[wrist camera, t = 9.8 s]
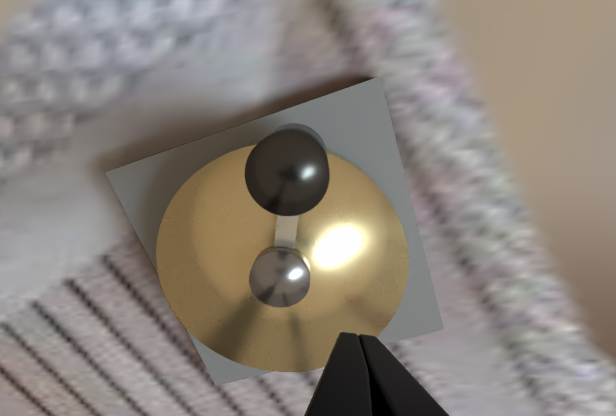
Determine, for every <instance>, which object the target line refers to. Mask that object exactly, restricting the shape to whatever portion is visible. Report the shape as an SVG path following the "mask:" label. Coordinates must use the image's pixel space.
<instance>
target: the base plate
mask: <svg viewBox="0 0 616 416" xmlns="http://www.w3.org/2000/svg"><path fill="white" fill-rule="evenodd" d="M289 123H299V124H303V125H306V126H308V127H310V128H312V129H313V130H315V131H316V132H317V133H318V134H319V135H320V137H321V138H322V140H323V141H324V144H325V146H326V149H328V150H331V151H333V152H335V153H337V154H339V155H341V156H343V157H345V158H347V159H348V160H350V161H351V162H353V163H354V164H356V165H357V166H359V167H360V168H361V169H362V170H363V171H364V172H365V173H367V174H368V175H369V176H370V177H371V178H372V179H373V180H374V181H375V183H376V184H377V185H378V186H379V187H380V189H381V190H382V191H383V193H384V194H385V196H386V197H387V199H388V200H389V202H390V204H391V205H392V207H393V208H394V210H395V212H396V213H397V216H398V218H399V220H400V222H401V225H402V227H403V230H404V234H405V238H406V241H407V248H408V256H409V267H408V278H407V283H406V288H405V291H404V294H403V297H402V301H401V303H400V305H399V307H398V309H397V311H396V313H395V315H394V316H393V318H392V319H391V321H390V322H389V324H388V325H387V326H386V327H385V329H384V330H383V331H382V332H381V333H380V334H379V335H378V337H377V338H378V339H379V340H380V341H381V342H382V344H386V343H390V342H394V341H398V340H402V339H406V338H410V337H414V336H418V335H422V334H426V333H430V332H435V331H439V330H443V329H444V328H443V324H442V320H441V316H440V312H439V308H438V305H437V301H436V297H435V293H434V289H433V285H432V281H431V277H430V273H429V269H428V265H427V261H426V257H425V253H424V249H423V245H422V241H421V237H420V233H419V229H418V225H417V221H416V217H415V213H414V209H413V205H412V201H411V197H410V193H409V190H408V186H407V182H406V178H405V174H404V170H403V166H402V162H401V158H400V154H399V150H398V146H397V142H396V138H395V134H394V130H393V126H392V122H391V118H390V114H389V110H388V106H387V102H386V98H385V94H384V90H383V86H382V82H381V78H380V77H376V78H373V79H370V80H367V81H365V82H362V83H359V84H356V85H353V86H350V87H347V88H344V89H342V90H339V91H336V92H333V93H330V94H327V95H324V96H321V97H319V98H316V99H313V100H310V101H307V102H304V103H301V104H299V105H296V106H293V107H290V108H287V109H284V110H281V111H278V112H276V113H273V114H270V115H267V116H264V117H261V118H258V119H255V120H253V121H250V122H247V123H244V124H241V125H238V126H235V127H233V128H230V129H227V130H224V131H221V132H218V133H215V134H212V135H210V136H207V137H204V138H201V139H198V140H195V141H192V142H189V143H187V144H184V145H181V146H178V147H175V148H172V149H169V150H166V151H164V152H161V153H158V154H155V155H152V156H149V157H146V158H144V159H141V160H138V161H135V162H132V163H129V164H126V165H123V166H121V167H118V168H115V169H112V170H110V171H107V172H104V173H105V175H106V177H107V179H108V180H109V182H110V184H111V186H112V188H113V190H114V192H115V194H116V196H117V198H118V200H119V202H120V203H121V205H122V207H123V209H124V211H125V213H126V215H127V217H128V219H129V221H130V223H131V225H132V226H133V228H134V230H135V232H136V234H137V236H138V238H139V240H140V242H141V244H142V246H143V248H144V249H145V251H146V253H147V255H148V257H149V259H150V261H151V263H152V265H153V267H154V269H155V271H156V272H157V274H158V271H157V261H156V247H157V238H158V233H159V228H160V224H161V222H162V219H163V216H164V214H165V211H166V209H167V207H168V206H169V204H170V202H171V200H172V198H173V197H174V196H175V194H176V193H177V192H178V190H179V189H180V188H181V187H182V185H183V184H184V183H185V182H186V181H187V180H188V179H189V178H190V177H191V176H192V175H194V174H195V173H196V172H197V171H199V170H200V169H202V168H203V167H204V166H206V165H207V164H209V163H210V162H212V161H213V160H215V159H216V158H218V157H220V156H222V155H224V154H226V153H228V152H230V151H232V150H234V149H237V148H240V147H243V146H246V145H249V144H254V143H259V142H260V141H261V140H263V139H264V138H265V137H266V136H267V135H269V134H270V133H271V132H272V131H274V130H275V129H276V128H278V127H280V126H282V125H285V124H289ZM158 276H159V275H158ZM186 330H187V329H186ZM187 332H188V334H189V336H190V338H191V340H192V341H193V343H194V345H195V347H196V349H197V351H198V353H199V355H200V357H201V359H202V361H203V363H204V364H205V366H206V368H207V370H208V372H209V374H210V376H211V378H212V380H213V382H214V384H215V386H217V385H221V384H225V383H229V382H233V381H237V380H241V379H245V378H249V377H253V376H257V375H261V374H265V373H269V372H273V371H267V370H262V369H256V368H252V367H249V366H245V365H242V364H239V363H237V362H234V361H232V360H229V359H227V358H225V357H223V356H221V355H220V354H218V353H216V352H214V351H213V350H211V349H210V348H208V347H207V346H205V345H204V344H202V343H201V342H200V341H199V340H198V339H197V338H195V337H194V336H193V335H192V334H191V333H190V332H189V331H188V330H187Z"/></svg>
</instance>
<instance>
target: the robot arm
mask: <svg viewBox="0 0 616 416" xmlns="http://www.w3.org/2000/svg"><path fill="white" fill-rule="evenodd" d="M304 416H449V415H448V414H447V413H446V412H445V411H444V410H443V408H442V407H441V406H440V405H439V404H438V403H437V402H436V401H435V400H434V399H433V398H432V397H431V395H430V394H429V393H428V392H427V391H426V390H425V389H424V388H423V387H422V386H421V385H420V384H419V382H418V381H417V380H416V379H415V378H414V377H413V376H412V375H411V374H410V373H409V372H408V371H407V370H406V368H405V367H404V366H403V365H402V364H401V363H400V362H399V361H398V360H397V359H396V358H395V357H394V355H393V354H392V353H391V352H390V351H389V350H388V349H387V348H386V347H385V346H384V345H383V344H382V342H381V341H380V340H379V339H378V338H377V337H376V336H372V335H365V334H359V335H357V334H356V333H351V332H345V331H341V332H340V333H339V336H338V338H337V340H336V343H335V345H334V347H333V350H332V352H331V354H330V357H329V359H328V361H327V364H326V366H325V368H324V371H323V373H322V375H321V378H320V380H319V383H318V385H317V387H316V390H315V392H314V394H313V397H312V399H311V401H310V404H309V406H308V408H307V411H306V413H305V415H304Z"/></svg>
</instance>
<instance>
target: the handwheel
mask: <svg viewBox="0 0 616 416" xmlns="http://www.w3.org/2000/svg"><path fill="white" fill-rule="evenodd" d="M156 261H157V271H158V275H159V280H160V284H161V287H162V289H163V292H164V295H165V297H166V299H167V301H168V303H169V305H170V307H171V309H172V311H173V312H174V313H175V315H176V316H177V318H178V319H179V320H180V322H181V323H182V324H183V325H184V326H185V328H186V329H187V330H188V331H189V332H190V333H191V334H192V335H193V336H194V337H195V338H197V339H198V340H199V341H200V342H201V343H202V344H204V345H205V346H207V347H208V348H210V349H211V350H213V351H214V352H216V353H218V354H220V355H221V356H223V357H225V358H227V359H229V360H232V361H234V362H237V363H239V364H242V365H245V366H249V367H252V368H256V369H262V370H267V371H278V372H299V371H307V370H314V369H318V368H322V367H325V366H326V364H327V361H328V359H329V357H330V354H331V352H332V350H333V347H334V345H335V343H336V340H337V338H338V336H339V333H340V332H341V331H345V332H351V333H356V334H357V335H359V334H365V335H372V336H376V337H378V335H379V334H380V333H381V332H382V331H383V330H384V329H385V327H386V326H387V325H388V324H389V322H390V321H391V319H392V318H393V316H394V315H395V313H396V311H397V309H398V307H399V305H400V303H401V301H402V297H403V294H404V291H405V288H406V283H407V278H408V267H409V256H408V248H407V241H406V238H405V234H404V230H403V227H402V225H401V222H400V220H399V218H398V216H397V213H396V212H395V210H394V208H393V207H392V205H391V204H390V202H389V200H388V199H387V197H386V196H385V194H384V193H383V191H382V190H381V189H380V187H379V186H378V185H377V184H376V183H375V181H374V180H373V179H372V178H371V177H370V176H369V175H368V174H367V173H365V172H364V171H363V170H362V169H361V168H360V167H359V166H357V165H356V164H354V163H353V162H351V161H350V160H348V159H347V158H345V157H343V156H341V155H339V154H337V153H335V152H333V151H331V150H328V149H326V146H325V144H324V141H323V140H322V138H321V137H320V135H319V134H318V133H317V132H316V131H315V130H313V129H312V128H310V127H308V126H306V125H303V124H299V123H289V124H285V125H282V126H280V127H278V128H276V129H275V130H274V131H272V132H271V133H270V134H269V135H267V136H266V137H265V138H264V139H263V140H261V141H260V142H259V143H254V144H249V145H246V146H243V147H240V148H237V149H234V150H232V151H230V152H228V153H226V154H224V155H222V156H220V157H218V158H216V159H215V160H213V161H212V162H210V163H209V164H207V165H206V166H204V167H203V168H202V169H200V170H199V171H197V172H196V173H195V174H194V175H192V176H191V177H190V178H189V179H188V180H187V181H186V182H185V183H184V184H183V185H182V187H181V188H180V189H179V190H178V192H177V193H176V194H175V196H174V197H173V198H172V200H171V202H170V204H169V206H168V207H167V209H166V211H165V214H164V216H163V219H162V222H161V224H160V228H159V233H158V238H157V247H156Z"/></svg>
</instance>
